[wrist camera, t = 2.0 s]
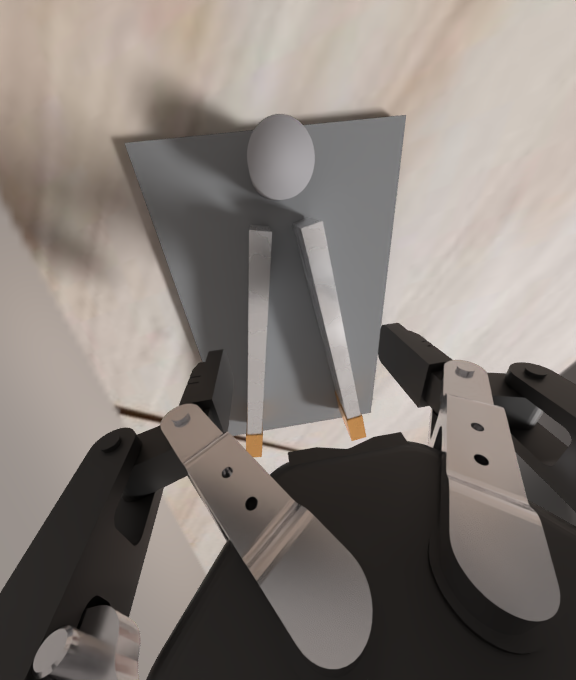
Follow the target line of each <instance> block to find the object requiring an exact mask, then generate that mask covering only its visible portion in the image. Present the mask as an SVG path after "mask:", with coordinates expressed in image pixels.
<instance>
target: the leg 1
mask: <svg viewBox="0 0 576 680" xmlns="http://www.w3.org/2000/svg"><path fill="white" fill-rule="evenodd" d="M271 245H272V231H271V229H270V228H269V226H259V225H250V228H249V301H248V404H247V430H246V451H247V452H248V453H249V454H250V455H251V456H252V457H262V439H263V428H262V416H263V397H264V378H265V359H266V340H267V321H268V302H269V283H270V264H271Z"/></svg>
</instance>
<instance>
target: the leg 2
mask: <svg viewBox="0 0 576 680" xmlns="http://www.w3.org/2000/svg"><path fill="white" fill-rule="evenodd" d="M292 226H293V230H294V234H295V237H296V241H297V245H298V249H299V253H300V257H301V260H302V264H303V268H304V272H305V276H306V280H307V284H308V287H309V291H310V295H311V299H312V303H313V307H314V310H315V314H316V318H317V322H318V326H319V330H320V333H321V337H322V341H323V345H324V349H325V353H326V357H327V360H328V364H329V368H330V372H331V376H332V380H333V383H334V387H335V391H334V392H335V395H336V399H337V403H338V407H339V411H340V413H341V415H342V418H343V420H344V423H345V425H346V428H347V430H348V433H349V435H350V438H351V440H352V441H354V440H357V439H360V438H364V437H366V433H365V428H364V422H363V417H362V415H361V413H360V409H359V404H358V399H357V394H356V389H355V384H354V379H353V373H352V368H351V363H350V358H349V353H348V348H347V343H346V338H345V332H344V327H343V322H342V317H341V312H340V307H339V302H338V297H337V292H336V286H335V281H334V276H333V271H332V266H331V261H330V256H329V251H328V245H327V240H326V235H325V230H324V225H323V221H321V220H317V219H313V218H307V219H304V220H301V221H298V222H295V223H292Z"/></svg>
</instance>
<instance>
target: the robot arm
mask: <svg viewBox="0 0 576 680" xmlns="http://www.w3.org/2000/svg"><path fill="white" fill-rule="evenodd" d="M378 356H379V359H380V361H381V363H382V364H383V365H384V366H385V368H386V369H387V370H388V371H389V373H390V374H391V375H392V376H393V377H394V379H395V380H396V381H397V382H398V384H399V385H400V386H401V387H402V388H403V390H404V391H405V392H406V393H407V394H408V396H409V397H410V398H411V399H412V401H413V402H414V403H415V404H416V405H417V407H418V408H419V407H425V406H430V407H431V408H432V410H431V413H430V423H429V435H428V446H427V445H424V444H420V443H416V442H410V441H406V439H405V438H404V436H403V435H402V433H401V432H399V433H393V434H388V435H382V436H377V437H373V438H371V439H369V440H366V441H364V442H362V443H360V444H358V445H356V446H354V447H352V448H349V449H335V448H318V447H316V448H310V449H304V450H299V451H293V452H288V457H289V462H288V463H286V464H284V465H282V466H280V467H279V468H277V469H276V470H275V471H274V472H272V473H271V474H270V475H269V474H268V473H267V472H266V471H265V470H264V469H263V467H262V466H261V465H260V464H259V463H258V462H257V461H256V460H255V459H254V458H253V457H252V456H251V455H250V454H249V453H248V452H247V451H246V450H245V449H244V448H243V446H242V445H241V444H240V443H239V442H238V441H237V440H236V439H235V438H234V437H233V436H232V435H231V434H230V433H229V432H228V427H229V419H230V411H231V403H232V394H233V386H234V382H233V375H232V371H231V367H230V364H229V360H228V357H227V353H226V351H225V349H221V350H214V351H209V352H208V355H207V358H206V361H205V362H201V363H199V364H198V365H197V366H196V367H195V368H194V369H193V370H192V373H191V375H190V379H189V381H188V383H187V384H188V385H187V386H186V388H185V391H184V394H183V396H182V399H181V401H180V404H179V406H178V407H176V408H174V409H172V410H171V411H169V412H168V413H167V414H166V415H165V416H164V418H163V419H162V421H161V425H160V426H158V427H155V428H153V429H150V430H148V431H145V432H143V433H141V434H138V435H136V433H135V432H134V430H133V429H131V428H120V429H117V430H114V431H112V432H110V433H108V434H106V435H105V436H103V437H102V438H100V439H99V440H98V441H97V442H96V443H95V444H94V445H93V446H92V447H91V449H90V450H89V452H88V453H87V455H86V456H85V458H84V460H83V461H82V463H81V464H80V466H79V468H78V469H77V471H76V473H75V474H74V476H73V477H72V479H71V481H70V482H69V484H68V485H67V487H66V488H65V490H64V492H63V493H62V495H61V496H60V498H59V500H58V501H57V503H56V504H55V507H54V508H53V509H52V511H51V513H50V514H49V516H48V517H47V519H46V521H45V522H44V524H43V525H42V527H41V529H40V530H39V532H38V533H37V535H36V537H35V538H34V540H33V541H32V543H31V545H30V546H29V548H28V549H27V551H26V553H25V554H24V556H23V557H22V559H21V561H20V562H19V564H18V565H17V567H16V569H15V570H14V572H13V573H12V575H11V577H10V578H9V580H8V581H7V583H6V585H5V586H4V588H3V589H2V591H1V593H0V680H139V674H138V658H139V651H140V631H139V628H138V626H137V624H136V623H135V622H134V621H133V620H132V619H131V618H129V614H130V611H131V607H132V603H133V600H134V596H135V592H136V588H137V585H138V581H139V577H140V574H141V570H142V566H143V563H144V559H145V555H146V552H147V548H148V544H149V540H150V537H151V533H152V529H153V526H154V522H155V518H156V514H157V511H158V507H159V503H160V500H161V496H162V492H163V489H164V487H165V486H167V485H169V484H171V483H173V482H175V481H177V480H179V479H182V478H184V477H186V476H188V478H189V479H190V481H191V483H192V484H193V486H194V488H195V489H196V491H197V493H198V494H199V496H200V498H201V499H202V501H203V502H204V504H205V506H206V507H207V509H208V511H209V512H210V514H211V516H212V518H213V519H214V521H215V523H216V524H217V526H218V528H219V530H220V531H221V533H222V535H223V536H224V538H225V539H226V541H227V542H226V544H225V545H224V547H223V549H222V550H221V552H220V554H219V555H218V557H217V559H216V560H215V562H214V564H213V565H212V567H211V569H210V570H209V572H208V574H207V575H206V577H205V579H204V580H203V582H202V584H201V585H200V587H199V589H198V590H197V592H196V594H195V595H194V597H193V599H192V600H191V602H190V604H189V605H188V607H187V609H186V610H185V612H184V614H183V615H182V617H181V619H180V620H179V622H178V623H177V625H176V627H175V629H174V630H173V632H172V634H171V635H170V637H169V639H168V640H167V642H166V643H165V645H164V647H163V648H162V650H161V652H160V654H159V655H158V657H157V659H156V661H155V663H154V665H153V666H152V668H151V670H150V673H149V675H148V677H147V679H146V680H576V526H574V525H572V524H570V523H569V522H567V521H565V520H563V519H561V518H560V517H558V516H556V515H554V514H552V513H551V512H549V511H547V510H545V509H543V508H542V507H540V506H538V505H536V504H535V503H533V502H531V501H529V500H527V498H526V494H525V489H524V486H523V482H522V478H521V473H520V469H519V465H518V461H517V457H516V453H517V454H518V455H519V456H520V457H521V458H522V459H523V460H524V461H525V462H526V463H527V464H528V465H529V466H530V467H531V468H532V469H533V470H534V471H535V472H536V473H537V474H538V475H539V476H540V477H541V478H542V479H543V480H544V481H545V482H546V483H547V484H548V485H549V486H550V487H551V488H552V489H553V490H554V491H555V492H556V493H557V494H558V495H559V496H560V497H561V498H562V499H563V500H564V501H565V502H566V503H567V504H568V505H569V506H570V507H571V508H572V509H573V510H574V511H575V512H576V385H575V384H574V383H572V382H571V381H569V380H567V379H565V378H564V377H562V376H560V375H559V374H557V373H555V372H553V371H552V370H550V369H547V368H545V367H542V366H539V365H536V364H531V363H514V364H512V365H510V367H509V369H508V371H507V373H506V374H504V373H487V372H486V371H485V370H484V369H483V368H482V367H480V366H479V365H476V364H474V363H472V362H468V361H463V360H452V359H451V358H449V357H448V356H447V355H445V354H444V353H443V352H441V351H440V350H439V349H438V348H436V347H435V346H433V345H432V344H431V343H430V342H428V341H427V340H426V339H424V338H423V337H422V336H421V335H419V334H416V333H414V332H412V331H408V330H407V329H405V328H404V327H403V326H402V325H400V324H399V323H393V324H387V325H382V326H381V329H380V338H379V347H378ZM543 412H545V413H546V414H547V415H549V416H550V417H552V418H553V419H554V420H555V421H557V422H558V423H559V424H561V425H562V426H563V427H565V428H566V429H567V431H568V432H569V433H570V435H571V439H572V442H571V444H570V446H569V447H567V446H566V445H565V444H564V443H563V442H561V441H560V440H559V439H558V438H556V437H555V436H554V435H553V434H551V433H550V432H549V431H548V430H547V429H545V428H544V427H543V426H542V425H540V424H539V423H538V420H539V418H540V417H541V415H542V413H543ZM515 452H516V453H515Z"/></svg>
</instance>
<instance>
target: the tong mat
mask: <svg viewBox="0 0 576 680" xmlns="http://www.w3.org/2000/svg"><path fill="white" fill-rule="evenodd" d="M405 120H406V115H400V116H390V117H380V118H370V119H360V120H350V121H340V122H330V123H320V124H310V125H302V124H301V123H300V122H299V121H298V120H297V119H295V118H293V117H292V116H289V115H285V114H275V115H271V116H268V117H267V118H265V119H263V120H262V121H261V122H260V123H259V124H258V125H257V126H256V128H255V129H254V130H250V131H240V132H230V133H220V134H210V135H200V136H190V137H180V138H170V139H160V140H150V141H139V142H129V143H125V146H126V149H127V152H128V154H129V157H130V160H131V163H132V166H133V168H134V171H135V174H136V177H137V180H138V182H139V185H140V188H141V191H142V194H143V196H144V199H145V202H146V205H147V208H148V210H149V213H150V216H151V219H152V222H153V224H154V227H155V230H156V233H157V236H158V238H159V241H160V244H161V247H162V250H163V252H164V255H165V258H166V261H167V264H168V266H169V269H170V272H171V275H172V278H173V280H174V283H175V286H176V289H177V292H178V294H179V297H180V300H181V303H182V306H183V308H184V311H185V314H186V317H187V320H188V322H189V325H190V328H191V331H192V334H193V336H194V339H195V342H196V345H197V348H198V350H199V353H200V356H201V359H202V362H205V361H206V358H207V355H208V352H209V351H214V350H221V349H225V351H226V353H227V357H228V360H229V364H230V367H231V371H232V375H233V382H234V386H233V394H232V403H231V411H230V419H229V427H228V432H229V433H230V434H231V435H232V436H235V435H241V434H246V430H247V404H248V301H249V228H250V225H259V226H269V228H270V229H271V231H272V245H271V264H270V283H269V302H268V321H267V340H266V359H265V378H264V397H263V416H262V428H263V431H264V430H270V429H276V428H282V427H288V426H294V425H300V424H306V423H312V422H318V421H324V420H330V419H336V418H342V415H341V413H340V411H339V407H338V403H337V399H336V395H335V392H334V391H335V387H334V383H333V380H332V376H331V372H330V368H329V364H328V360H327V357H326V353H325V349H324V345H323V341H322V337H321V333H320V330H319V326H318V322H317V318H316V314H315V310H314V307H313V303H312V299H311V295H310V291H309V287H308V284H307V280H306V276H305V272H304V268H303V264H302V260H301V257H300V253H299V249H298V245H297V241H296V237H295V234H294V230H293V226H292V223H295V222H298V221H301V220H304V219H307V218H313V219H317V220H321V221H323V225H324V230H325V235H326V240H327V245H328V251H329V256H330V261H331V266H332V271H333V276H334V281H335V286H336V292H337V297H338V302H339V307H340V312H341V317H342V322H343V327H344V332H345V338H346V343H347V348H348V353H349V358H350V363H351V368H352V373H353V379H354V384H355V389H356V394H357V399H358V404H359V409H360V413H361V414H365V413H371V405H372V397H373V389H374V380H375V372H376V364H377V355H378V347H379V338H380V329H381V322H382V313H383V305H384V296H385V288H386V280H387V271H388V263H389V255H390V246H391V238H392V229H393V221H394V213H395V204H396V196H397V187H398V179H399V171H400V162H401V154H402V146H403V137H404V129H405Z"/></svg>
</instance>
